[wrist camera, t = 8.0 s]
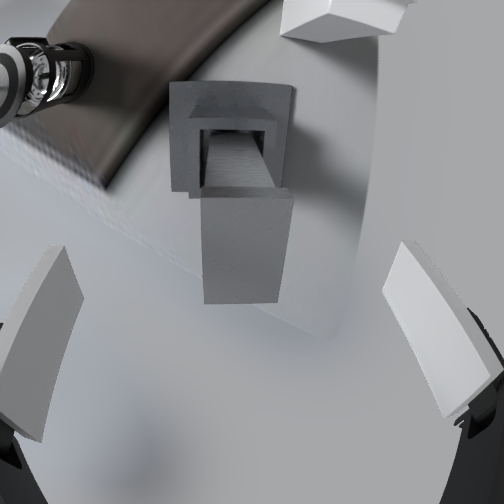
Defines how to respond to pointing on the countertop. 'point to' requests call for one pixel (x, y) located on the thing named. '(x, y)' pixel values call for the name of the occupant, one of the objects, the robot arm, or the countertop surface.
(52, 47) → the french press
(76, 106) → the countertop surface
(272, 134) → the base
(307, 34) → the milk
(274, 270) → the column
